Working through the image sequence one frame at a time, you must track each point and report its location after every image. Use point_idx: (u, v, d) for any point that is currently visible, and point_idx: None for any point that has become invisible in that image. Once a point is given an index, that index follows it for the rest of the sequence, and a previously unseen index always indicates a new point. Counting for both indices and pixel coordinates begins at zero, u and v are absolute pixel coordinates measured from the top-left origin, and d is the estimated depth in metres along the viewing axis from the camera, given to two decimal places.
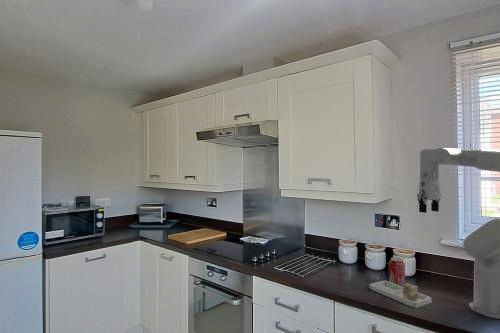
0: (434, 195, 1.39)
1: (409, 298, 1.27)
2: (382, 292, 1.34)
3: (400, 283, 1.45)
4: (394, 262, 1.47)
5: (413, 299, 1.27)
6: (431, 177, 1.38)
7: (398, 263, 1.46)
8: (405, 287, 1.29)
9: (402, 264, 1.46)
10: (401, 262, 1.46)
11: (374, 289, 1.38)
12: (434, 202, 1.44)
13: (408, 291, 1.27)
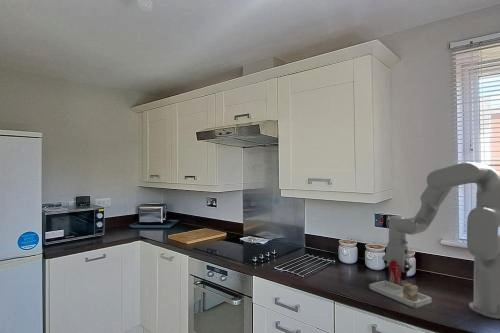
0: None
1: (409, 298, 1.27)
2: (382, 292, 1.34)
3: (400, 283, 1.45)
4: (394, 262, 1.47)
5: (413, 299, 1.27)
6: (405, 243, 1.48)
7: None
8: (405, 287, 1.29)
9: None
10: None
11: (374, 289, 1.38)
12: None
13: (408, 291, 1.27)
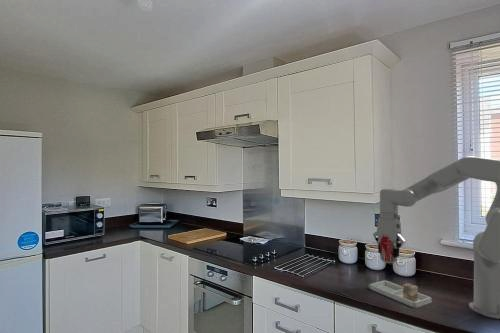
0: None
1: (409, 298, 1.27)
2: (382, 292, 1.34)
3: (392, 260, 1.35)
4: (385, 238, 1.36)
5: (413, 299, 1.27)
6: None
7: None
8: (405, 287, 1.29)
9: None
10: None
11: (374, 289, 1.38)
12: None
13: (408, 291, 1.27)
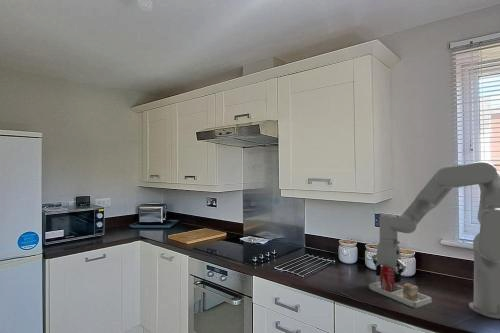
0: None
1: (409, 298, 1.27)
2: (382, 292, 1.34)
3: (392, 290, 1.34)
4: (386, 268, 1.36)
5: (413, 299, 1.27)
6: None
7: (390, 269, 1.35)
8: (405, 287, 1.29)
9: None
10: None
11: (374, 289, 1.38)
12: (379, 266, 1.42)
13: (408, 291, 1.27)
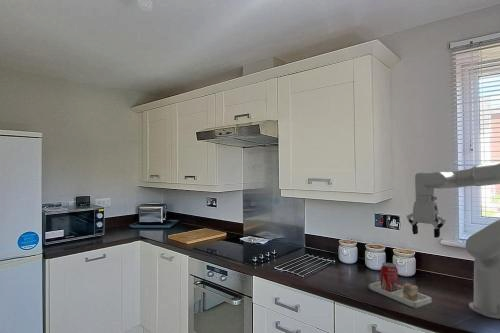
0: None
1: (409, 298, 1.27)
2: (382, 292, 1.34)
3: (392, 290, 1.34)
4: (386, 268, 1.36)
5: (413, 299, 1.27)
6: None
7: (390, 269, 1.35)
8: (405, 287, 1.29)
9: (394, 269, 1.35)
10: (394, 268, 1.35)
11: (374, 289, 1.38)
12: (415, 225, 1.44)
13: (408, 291, 1.27)
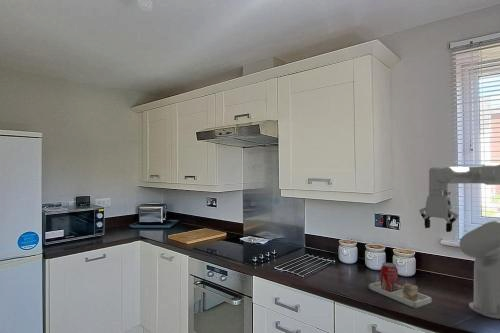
0: None
1: (409, 298, 1.27)
2: (382, 292, 1.34)
3: (392, 290, 1.34)
4: (386, 268, 1.36)
5: (413, 299, 1.27)
6: None
7: (390, 269, 1.35)
8: (405, 287, 1.29)
9: (394, 269, 1.35)
10: (394, 268, 1.35)
11: (374, 289, 1.38)
12: (428, 219, 1.45)
13: (408, 291, 1.27)
